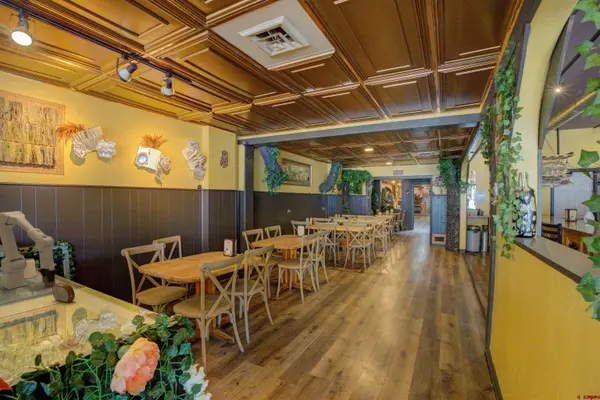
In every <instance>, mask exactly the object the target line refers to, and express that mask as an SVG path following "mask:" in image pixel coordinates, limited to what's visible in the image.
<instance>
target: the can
mask: <svg viewBox="0 0 600 400" xmlns="http://www.w3.org/2000/svg"><path fill="white" fill-rule="evenodd" d="M25 260H26V261H27V266H26V267H25V270H24V279H25V280H27V279H28V278H29V279H33V278H35V277H36V276H37V270H36V261H35V259H34V258H33V257H32V258H30V257H29V258H25Z"/></svg>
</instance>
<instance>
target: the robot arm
mask: <svg viewBox="0 0 600 400" xmlns="http://www.w3.org/2000/svg"><path fill="white" fill-rule="evenodd" d="M16 225H18V226H19V227H20V228H21V229H23V230H24V231H25V232H27V233H26V235H27V237H29V238H30V239H31V240H32V241H33V242H34V243H35V244H34V245H35V247H36V249H37V251H38V255H39V264H40V267H39V269H38V272H39V273H40V275H41V278H42V277H44V276H47V279H48V282H49V283H50V282H54V278H55V279H56V274H57V272H58V269H57V268H55V266H57V263H55V262H54V252H53V246H54V244H55V239H54V238H53V237H52V236H48V235H46V234H45V233H44V232H43V231H42V230H41V229H40V228H37V227H36V228H35V227H34V225H32V224H31V223H30V221H28V220H27V219H26V215H25V214H24V213H23V212H22V211H21V210H16V211H6V212H4V211H2V212H0V239H1V244H2V248H3V251H4V255H5V257H4V258H3V259H1V261H0V263H1V266H0V270H1V272H2V273H3V274H5V282H6V285H5V286H3V287H4V288H5V289H7V290H13V289H17V288H21V287H25V286H28V283H26V282H25V280H26V279H24V270H25V267H26V266H27V261H26V260H25V259H26V258H25V256H24V255H22V254H20V253H19V249H18V245H17V242H16V237H15V234H14V230H13V228H14V227H15V226H16Z"/></svg>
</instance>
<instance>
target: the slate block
mask: <svg viewBox="0 0 600 400" xmlns="http://www.w3.org/2000/svg"><path fill="white" fill-rule="evenodd" d="M29 286H30V291H32V292H35V291H38V290H39V291H40V290H43V289H46V287H45V283H43V282H42V281H41V282H37V283H32V284H30V285H29Z"/></svg>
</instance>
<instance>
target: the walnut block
mask: <svg viewBox="0 0 600 400" xmlns="http://www.w3.org/2000/svg"><path fill="white" fill-rule="evenodd" d="M41 282H43V283H45V288H47V287H51V286H52V285H55V284H56V277H55V278H54V282H50V283H49V282H48V279H47V276H44V277H42V276H41ZM52 287H53V286H52Z"/></svg>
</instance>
